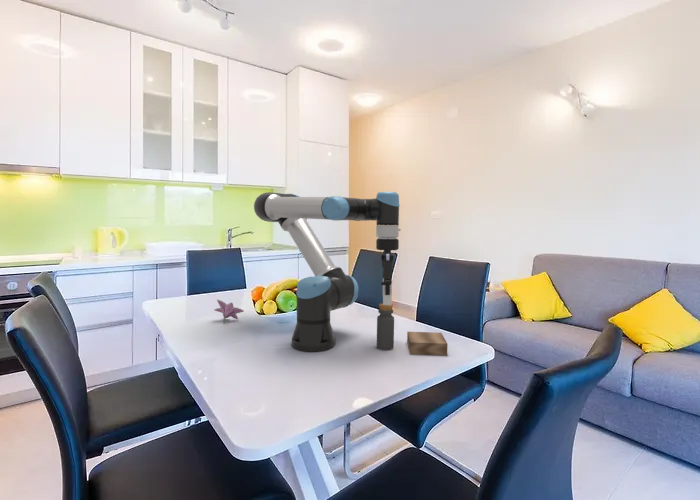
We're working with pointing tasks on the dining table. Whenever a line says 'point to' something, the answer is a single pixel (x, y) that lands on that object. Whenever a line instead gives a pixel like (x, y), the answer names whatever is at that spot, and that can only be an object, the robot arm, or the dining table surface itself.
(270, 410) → the dining table surface
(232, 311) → the lily
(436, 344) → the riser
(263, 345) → the dining table surface
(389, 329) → the bottle
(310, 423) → the dining table surface
